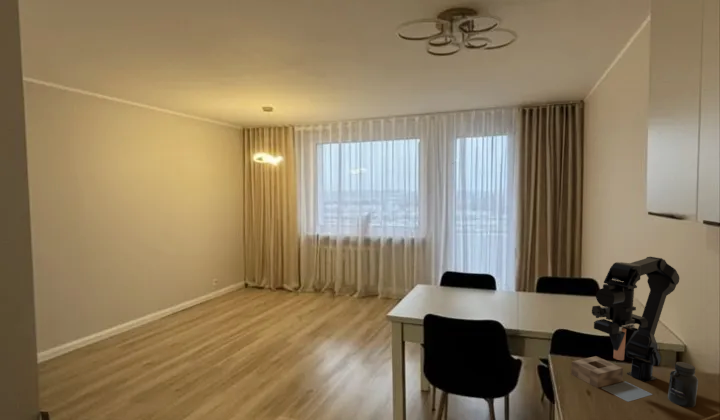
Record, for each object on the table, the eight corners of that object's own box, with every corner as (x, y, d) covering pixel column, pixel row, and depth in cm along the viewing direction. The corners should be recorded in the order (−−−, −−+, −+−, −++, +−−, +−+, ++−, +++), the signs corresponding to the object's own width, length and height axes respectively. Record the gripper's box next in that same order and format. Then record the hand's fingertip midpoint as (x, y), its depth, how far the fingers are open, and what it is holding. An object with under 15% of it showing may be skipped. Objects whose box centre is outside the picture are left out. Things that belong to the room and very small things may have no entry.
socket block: (595, 369, 151) (596, 356, 150) (622, 382, 142) (623, 368, 141) (570, 375, 146) (571, 361, 146) (597, 388, 137) (598, 374, 136)
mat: (625, 382, 141) (625, 381, 141) (653, 395, 133) (653, 394, 133) (600, 389, 137) (600, 387, 137) (627, 402, 129) (627, 401, 128)
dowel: (617, 355, 139) (619, 326, 138) (626, 359, 136) (628, 329, 135) (611, 357, 138) (613, 327, 137) (620, 360, 135) (622, 330, 134)
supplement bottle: (669, 404, 128) (673, 366, 127) (665, 394, 134) (668, 358, 133) (698, 411, 125) (701, 372, 124) (692, 400, 131) (696, 363, 130)
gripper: (617, 292, 147) (614, 336, 148) (580, 298, 139) (577, 344, 140) (650, 301, 137) (646, 348, 138) (612, 308, 129) (609, 357, 130)
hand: (619, 349), depth 137 cm, fingers closed on dowel, 3 cm apart
